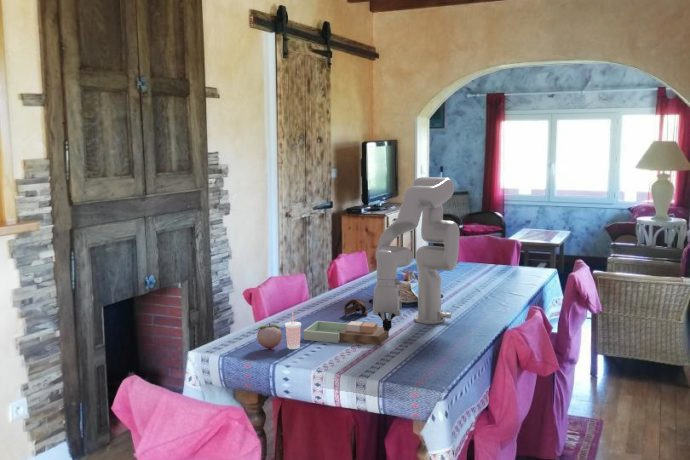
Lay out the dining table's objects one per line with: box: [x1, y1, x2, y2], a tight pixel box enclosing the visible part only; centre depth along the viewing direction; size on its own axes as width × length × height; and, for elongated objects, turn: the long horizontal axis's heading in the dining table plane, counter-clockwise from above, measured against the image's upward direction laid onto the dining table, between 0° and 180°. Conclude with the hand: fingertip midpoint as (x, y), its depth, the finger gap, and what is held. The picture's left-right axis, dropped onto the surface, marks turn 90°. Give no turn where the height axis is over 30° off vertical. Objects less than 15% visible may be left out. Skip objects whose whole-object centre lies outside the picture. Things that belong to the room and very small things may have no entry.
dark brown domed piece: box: [343, 298, 369, 317], centre depth 295 cm, size 12×10×8 cm
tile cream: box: [347, 320, 365, 332], centre depth 260 cm, size 5×5×2 cm
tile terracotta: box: [361, 321, 378, 333], centre depth 259 cm, size 5×5×2 cm
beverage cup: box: [284, 309, 302, 350], centre depth 250 cm, size 6×6×14 cm
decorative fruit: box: [256, 322, 283, 350], centre depth 248 cm, size 9×8×10 cm
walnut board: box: [338, 326, 390, 347], centre depth 260 cm, size 16×12×4 cm
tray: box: [302, 320, 349, 344], centre depth 265 cm, size 14×15×4 cm
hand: (387, 330), depth 256 cm, fingers closed
